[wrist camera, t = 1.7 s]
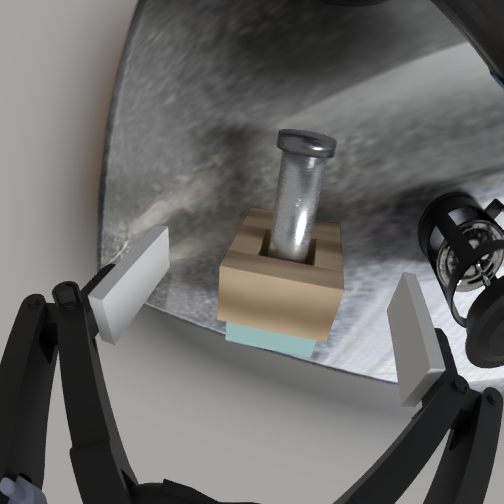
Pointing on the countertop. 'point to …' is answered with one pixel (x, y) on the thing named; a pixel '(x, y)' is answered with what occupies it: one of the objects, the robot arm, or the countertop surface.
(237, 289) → the housing
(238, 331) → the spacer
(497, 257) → the french press
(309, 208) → the shaft
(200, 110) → the countertop surface
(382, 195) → the countertop surface
